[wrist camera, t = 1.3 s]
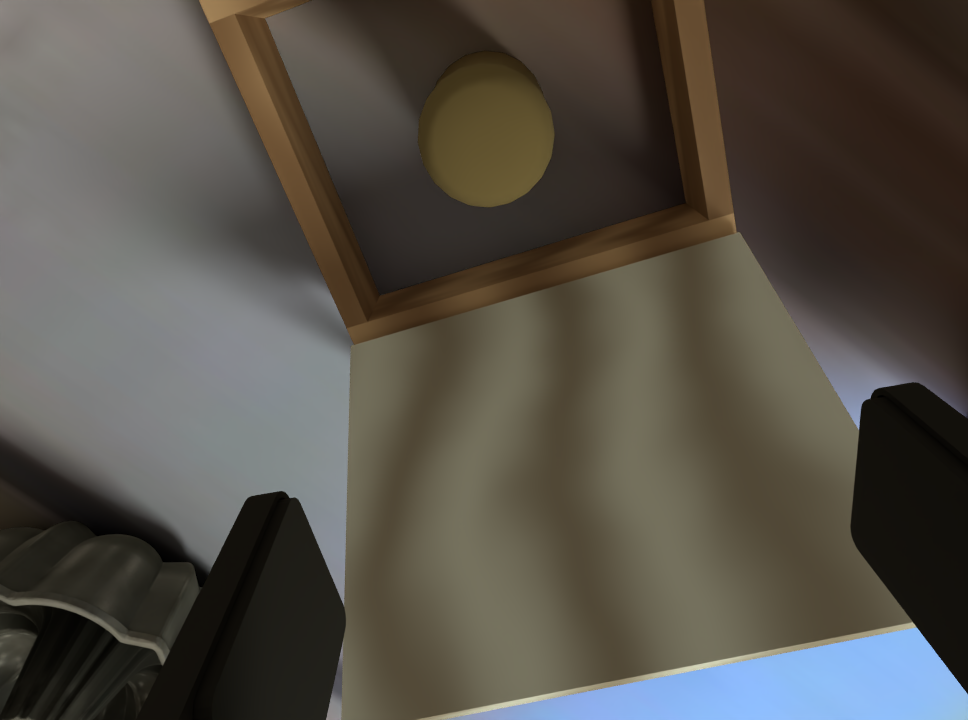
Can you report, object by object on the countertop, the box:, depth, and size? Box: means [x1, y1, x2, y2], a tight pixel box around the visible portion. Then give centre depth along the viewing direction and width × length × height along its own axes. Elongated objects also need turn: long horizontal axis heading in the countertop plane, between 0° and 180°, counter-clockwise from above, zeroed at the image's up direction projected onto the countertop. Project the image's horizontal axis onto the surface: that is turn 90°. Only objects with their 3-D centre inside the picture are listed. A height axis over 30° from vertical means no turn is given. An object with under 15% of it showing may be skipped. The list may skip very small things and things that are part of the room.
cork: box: [418, 51, 555, 207], centre depth 27 cm, size 6×6×11 cm
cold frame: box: [199, 0, 916, 720], centre depth 24 cm, size 20×25×21 cm
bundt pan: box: [0, 521, 202, 720], centre depth 44 cm, size 26×26×10 cm
